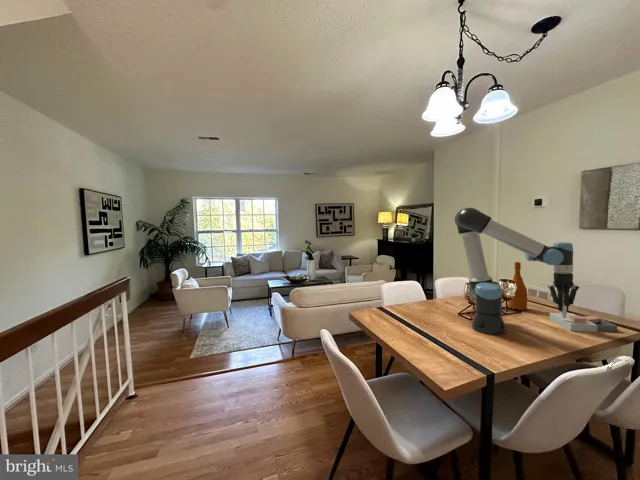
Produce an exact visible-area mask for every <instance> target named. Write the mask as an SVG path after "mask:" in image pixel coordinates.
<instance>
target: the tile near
mask: <svg viewBox="0 0 640 480" xmlns="http://www.w3.org/2000/svg"><path fill="white" fill-rule="evenodd" d="M569 320H571V321H573V322H579V323H587V319H586V318H584V317H582V316H574V315H569Z"/></svg>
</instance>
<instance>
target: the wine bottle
mask: <svg viewBox="0 0 640 480" xmlns="http://www.w3.org/2000/svg"><path fill="white" fill-rule="evenodd" d="M513 265H514V275H513V277H512V280H511V282H512V281H514V282H516V286H517V290H516V292H515V296H514V297H513V298H512V299H511V300H509V301H508V300H507V302H508V303H507V304H508V307H509V308H510V309H511V308H512V309H511V310H514V309H518V310H517V311H525V310H527V308H528V291H527V287H526V284H525V283H524V279H523V277H522V276H521V268H522V267H521V265H522V264H521V262H520V261H515V262H514V263H513Z"/></svg>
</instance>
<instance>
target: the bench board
mask: <svg viewBox="0 0 640 480" xmlns="http://www.w3.org/2000/svg"><path fill="white" fill-rule="evenodd" d="M569 315H574V316H577V315H578V314H574V313H569V312H567V318H562V317H560V312H549V320H551V321H552V322H554V323H555V324H558V325H559V326H561V327H563V328H565V329H567V330H568V331H570V332H583V333H584V332H585V333H588V332H591V333H597V332H598V331H597V325H596V324H594V323H592V322H590V321H587V323H579V322H573V321H571V320H569Z"/></svg>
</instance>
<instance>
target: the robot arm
mask: <svg viewBox="0 0 640 480" xmlns="http://www.w3.org/2000/svg"><path fill="white" fill-rule="evenodd" d="M454 223H455V225H456V228H457V231H458V235H460V236H461V237H462V241H463V246H464V247H463V248H464V251H465V256H466V259H467V265H468V269H469V270H468V271H469V274H470V277H469V279H468V284H469V292H470V295H471V297H472V298H473V299H474V301H475V314H474V317H473V318H472V321H471V328H472V329H473V330H474V331H476V332H479V333H482V334H488V335H498V336H499V335H504V334H506V333H507V326H506V324H505V321H504V319H503V314H502V312H503V311H502V309H503V307H502V306H503V305H502V302H503V299H502V298H503V296H502V295H503V291H502V287H501V286H500V285H498V284H497V283H494V282H493V277H492V276H490V275H489V273H488V269H487V263H486V259H485V253H484V250H483V245H482V241H481V236H480V234H485V235H487V236H489V237H491V238H493V239H495V240H497V241H499V242H501V243H503V244H506V245H507V246H510V247H512V248H513V249H516V250H517V251H519V252H522V253H523V254H524V256H525V259H526V260H527V261H528V262H540V263H543V264H546V265H548V266H553V271H554V272H553V281H552V284H550V285H549V284H547V288H548V290H550V294H551V299H552V301H553V303H554V304H556V305H557V309H558V312H559V313H560V317H562V318H567V313H569V307H570V306H571V305H573V304H574V301H575V299H576V297H577V296H576V295H577V292H578V290H579V289H580V286H578V285H576V284H575V283H574V282H573V281H574V274H573V273H574V246H573V244H572V243H571V242H564V241H563V242H554V243H553V245H551V246H547V245H545V244H543V243H542V242H540V241H537V240H535V239H533V238H531V237H528V236H527V235H524V234H522V233H520V232H518V231H516V230H514V229H512V228H510V227H508V226H505V225H504V224H502V223H499V222H497V221H495V220H493V218H492V217H491V216H489V215H487V214H485V213H484V212H482V211H480V210H479V209H476V208H474V207H466V208H463V209H461V210H459V211H458V212H457V213H456V214H455V217H454Z"/></svg>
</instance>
